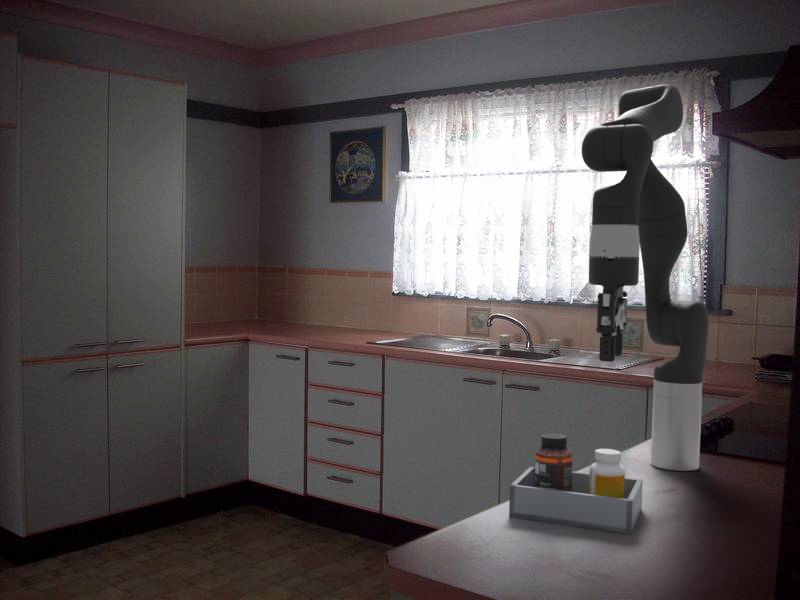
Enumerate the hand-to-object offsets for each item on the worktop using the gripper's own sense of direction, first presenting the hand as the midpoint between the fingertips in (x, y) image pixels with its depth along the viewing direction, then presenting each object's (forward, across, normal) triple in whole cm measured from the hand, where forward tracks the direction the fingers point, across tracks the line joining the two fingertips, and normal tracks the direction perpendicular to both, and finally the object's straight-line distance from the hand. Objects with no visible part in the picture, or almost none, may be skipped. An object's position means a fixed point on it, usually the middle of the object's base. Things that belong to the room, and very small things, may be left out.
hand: (611, 358), depth 128 cm
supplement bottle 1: (+25, 0, -9) cm, 26 cm away
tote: (+25, 0, -5) cm, 26 cm away
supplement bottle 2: (+25, 0, 0) cm, 25 cm away
